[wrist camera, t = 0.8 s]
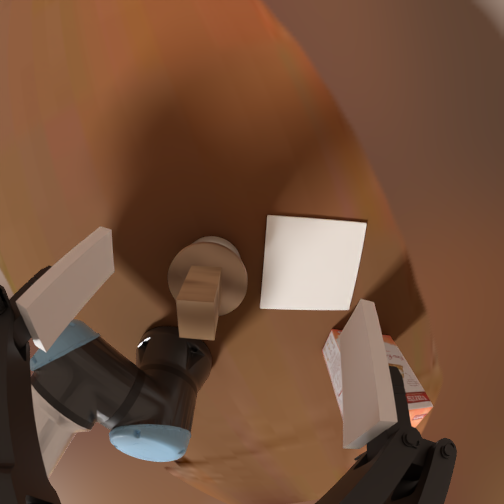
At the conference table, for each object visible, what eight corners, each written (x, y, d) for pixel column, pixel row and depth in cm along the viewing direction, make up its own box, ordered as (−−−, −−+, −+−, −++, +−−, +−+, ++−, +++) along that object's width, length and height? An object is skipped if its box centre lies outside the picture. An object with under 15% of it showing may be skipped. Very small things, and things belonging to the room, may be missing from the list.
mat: (347, 308, 48) (348, 309, 48) (260, 306, 48) (260, 308, 47) (365, 222, 43) (366, 223, 42) (267, 214, 42) (267, 215, 42)
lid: (245, 314, 41) (244, 361, 31) (172, 309, 41) (154, 353, 31) (249, 243, 37) (249, 277, 27) (167, 239, 37) (141, 271, 27)
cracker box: (390, 332, 51) (435, 406, 31) (378, 355, 53) (415, 429, 33) (331, 325, 50) (365, 413, 30) (320, 350, 52) (346, 437, 32)
